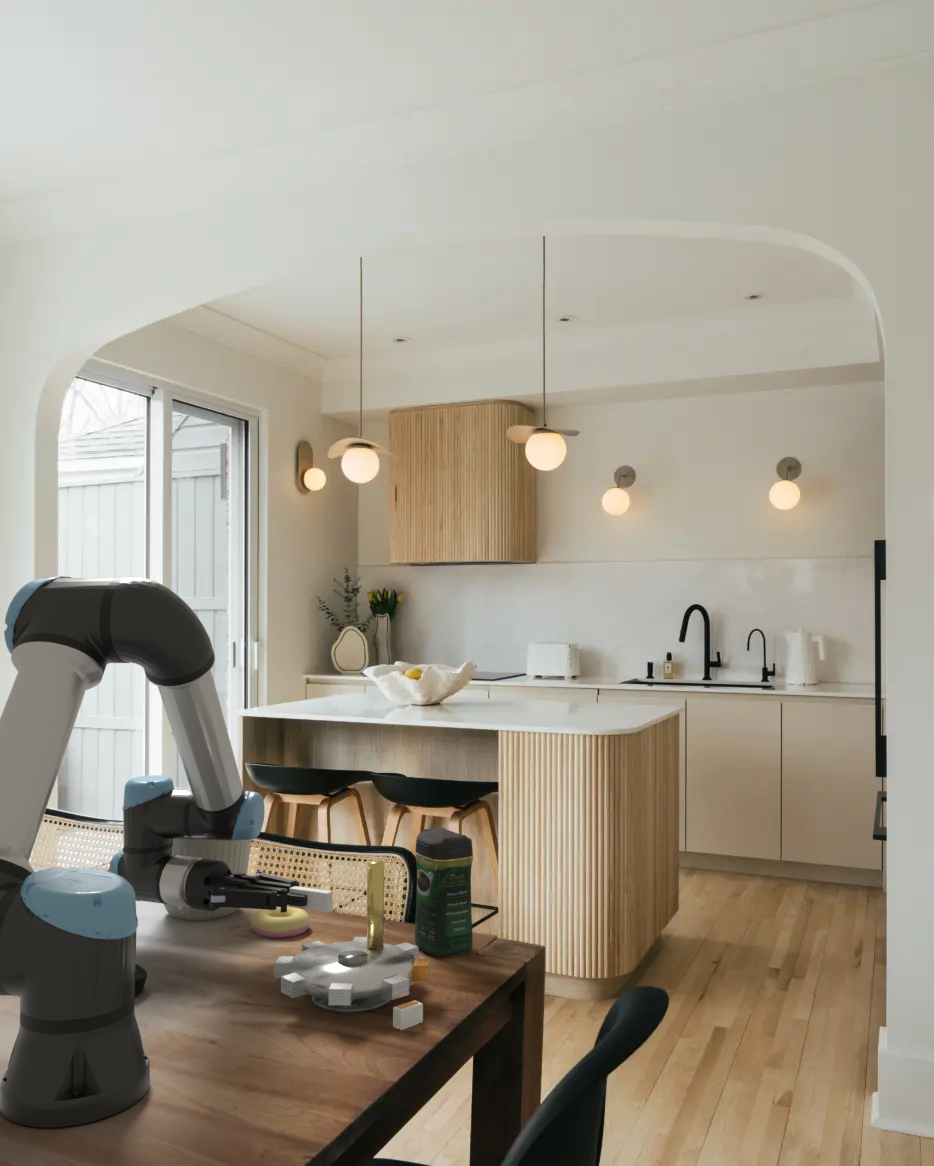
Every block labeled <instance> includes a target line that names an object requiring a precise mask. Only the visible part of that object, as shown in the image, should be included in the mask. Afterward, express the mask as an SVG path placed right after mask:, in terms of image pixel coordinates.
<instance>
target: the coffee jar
mask: <svg viewBox="0 0 934 1166" xmlns="http://www.w3.org/2000/svg"><path fill="white" fill-rule="evenodd" d="M473 850H474V849H473V842H472V839H471V838H470V837H468V836H467V835H465V834H461V833H457V832H456V831H455V832H454V831H452V830H450V829H446V828H445V827H435V828H434V827H433V828H425V829H422V830H421V832H419V833H418V835H417V836H416V840H415V854H414V855H415V861H416V862H415V863H416V905H415V921H414V922H415V924H414V942H415V943H414V944H415V946H417V947H418V949H420V950H422V951H425V952H426V953H428V954H430V955H432V956H436V957H438V956H439V957H440V956H447V957H448V956H449V957H457V956H456V955H458V956H462V955H463V954H465V953H467V952H469V951H471V950H472V948H473V943H474V942H473V940H474V939H473V915H472V913H473V912H472V866H473V860H474V855H473V854H474V853H473Z"/></svg>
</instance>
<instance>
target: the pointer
mask: <svg viewBox="0 0 934 1166" xmlns="http://www.w3.org/2000/svg"><path fill="white" fill-rule="evenodd" d="M422 1022H423V1023H424V1004H423V1003H422V1002H420V1001H418V1000H416V999H415V1000H411V1001H409V1002H405V1003H402V1004H399V1005H396V1006H393V1007H392V1027H393V1028H395V1029H397V1030H399V1029H400V1030H399V1031H403V1030H407V1029H409V1028H412V1027H414V1025H415V1026H418V1025H420V1024H419V1023H421V1024H423V1023H422ZM417 1024H418V1025H417ZM411 1026H412V1027H411ZM408 1027H409V1028H408Z"/></svg>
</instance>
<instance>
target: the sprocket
mask: <svg viewBox="0 0 934 1166" xmlns="http://www.w3.org/2000/svg"><path fill="white" fill-rule="evenodd" d="M366 867H367V868H366V869H367V871H366V873H367V875H366V876H367V877H366V881H367V883H366V894H367V895H366V896H367V897H366V936H354V938H353V940H351V941H340V942H332V943H324V942H323V941H320V940H316V941H311V942H307V943H304V944H301V951H300V952H299V953H297V954H296V955H294V956H293V955H292V956H290V955H284V956H283V955H282V956H281V955H279V956H278V958H277V959H276V961H275V962H274V975H273V976H274V979H280V992H281V994H284V995H286V996H287V997H290V998H292V999H293V998H297V997H302V996H303V995H308V996H311V997H312V996H316V997H322V998H329V1003H328V1005H350V1006H351V1003H352V1001H353V999H363V998H371V997H377V996H384V997H386V998H389V999H391V1000H392V1001H393V1000H397V999H400V998H403V997H405V996H406V997H407V996H409V995H410V984H412V982H416V981H417V982H429V980H430V976H431V959H430V958H419V947H418V946H417V945H416V944H415V945H414V944H412V943H409V942H402V943H399V944H398V943H397V944H395V945H394V944H390V943H385V938H384V935H385V933H384V932H385V931H384V930H385V927H384V926H385V925H384V923H385V921H384V920H385V861H384V860H380V859H373V860H369V861H367V866H366Z"/></svg>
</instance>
